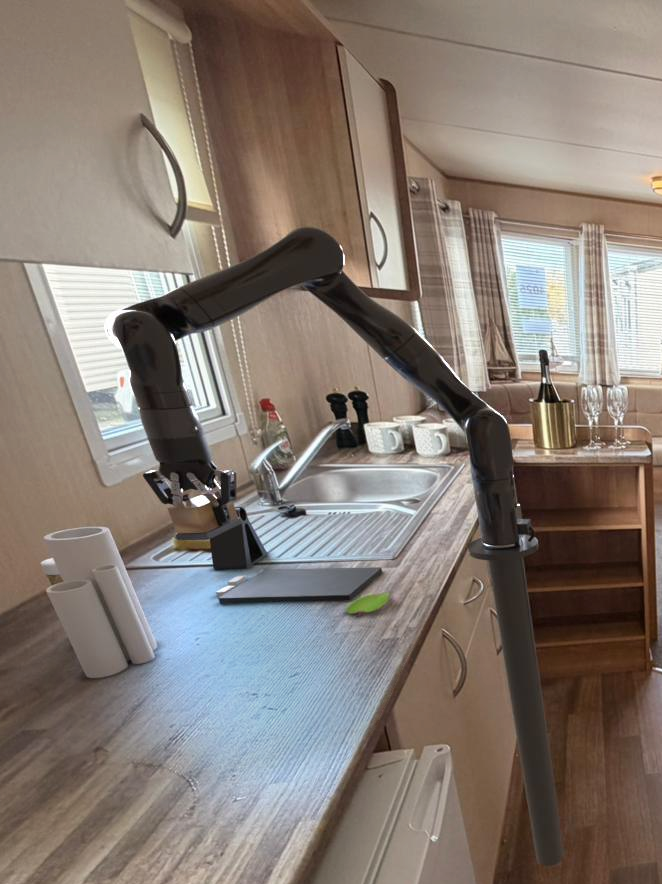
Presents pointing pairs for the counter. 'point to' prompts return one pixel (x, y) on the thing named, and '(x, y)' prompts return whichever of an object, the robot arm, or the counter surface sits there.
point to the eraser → (199, 519)
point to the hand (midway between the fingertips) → (208, 524)
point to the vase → (98, 602)
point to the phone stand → (237, 545)
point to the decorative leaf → (368, 603)
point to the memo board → (302, 585)
